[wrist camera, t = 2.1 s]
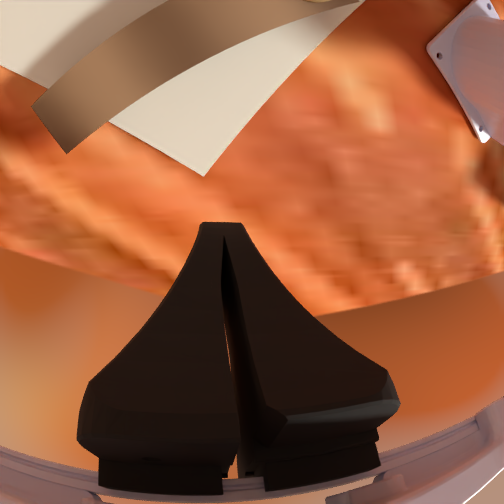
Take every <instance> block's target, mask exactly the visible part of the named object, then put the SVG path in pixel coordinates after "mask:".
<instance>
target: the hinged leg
mask: <svg viewBox="0 0 504 504" xmlns="http://www.w3.org/2000/svg"><path fill="white" fill-rule="evenodd" d="M357 2H360V1H359V0H168V1H166V2H164V3H163V4H161V5H159V6H157V7H156V8H154V9H152V10H151V11H149V12H147V13H146V14H144V15H142V16H141V17H139V18H138V19H136V20H135V21H133V22H131V23H130V24H128V25H127V26H125V27H124V28H123V29H121V30H120V31H118V32H117V33H115V34H114V35H113V36H111V37H110V38H108V39H107V40H106V41H104V42H103V43H102V44H100V45H99V46H98V47H96V48H95V49H94V50H92V51H91V52H90V53H89V54H87V55H86V56H85V57H84V58H83V59H81V60H80V61H79V62H78V63H77V64H75V65H74V66H73V67H72V68H71V69H70V70H68V71H67V72H66V73H65V74H64V75H63V76H62V77H61V78H59V79H58V80H57V81H56V82H55V83H54V84H53V85H52V86H51V87H50V88H49V89H48V90H47V91H46V92H45V93H44V94H43V95H42V96H41V97H40V98H39V99H38V100H37V101H36V102H35V103H34V104H33V105H32V106H31V107H32V109H33V110H34V111H35V113H36V114H37V116H38V117H39V118H40V120H41V121H42V122H43V124H44V125H45V127H46V128H47V129H48V131H49V132H50V133H51V135H52V136H53V137H54V139H55V140H56V141H57V143H58V144H59V145H60V146H61V148H62V149H63V150H64V152H65V153H66V154H67V153H69V152H70V151H71V150H72V149H73V148H75V147H76V146H77V145H78V144H79V143H81V142H82V141H83V140H84V139H85V138H87V137H88V136H89V135H90V134H92V133H93V132H94V131H96V130H97V129H98V128H99V127H101V126H102V125H103V124H105V123H106V122H107V121H109V120H110V119H111V118H113V117H114V116H116V115H117V114H118V113H120V112H121V111H123V110H124V109H125V108H127V107H128V106H130V105H131V104H133V103H134V102H136V101H137V100H139V99H140V98H142V97H143V96H145V95H146V94H148V93H149V92H151V91H153V90H154V89H156V88H157V87H159V86H161V85H162V84H164V83H165V82H167V81H169V80H170V79H172V78H174V77H176V76H177V75H179V74H181V73H183V72H184V71H186V70H188V69H190V68H191V67H193V66H195V65H197V64H199V63H201V62H203V61H204V60H206V59H208V58H210V57H212V56H214V55H216V54H218V53H220V52H222V51H224V50H226V49H228V48H231V47H233V46H235V45H237V44H239V43H241V42H244V41H246V40H248V39H250V38H253V37H255V36H257V35H260V34H262V33H265V32H267V31H270V30H272V29H275V28H277V27H280V26H282V25H285V24H288V23H291V22H293V21H296V20H299V19H302V18H305V17H308V16H311V15H314V14H317V13H320V12H324V11H327V10H330V9H334V8H337V7H341V6H345V5H349V4H353V3H357Z"/></svg>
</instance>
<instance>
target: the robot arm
mask: <svg viewBox="0 0 504 504" xmlns="http://www.w3.org/2000/svg"><path fill="white" fill-rule="evenodd" d="M487 6H488V8H487ZM427 52H428V54H429V55H430V57H431V58H432V60H433V61H434V63H435V64H436V66H437V67H438V69H439V70H440V72H441V73H442V75H443V76H444V78H445V79H446V81H447V83H448V84H449V86H450V87H451V89H452V91H453V92H454V94H455V96H456V98H457V99H458V101H459V103H460V105H461V106H462V108H463V110H464V112H465V114H466V116H467V117H468V119H469V121H470V123H471V125H472V127H473V129H474V131H475V133H476V135H477V137H478V139H479V141H480V142H482V143H485V142H487V141H488V140H489V138H490V137H491V138H493V139H494V140H496V141H497V142H499V143H500V144H502V145H503V146H504V20H500V18H499V16H498V14H497V12H496V11H495V9H494V7H493V5H492V4H491V2H490V0H473V1H472V2H471V3H470V4H469V5H468V6H467V7H465V8H464V9H463V10H462V11H461V12H460V13H459V14H458V15H457V16H456V17H455V18H454V19H453V20H452V21H451V22H450V23H449V24H448V25H447V26H446V27H445V28H444V29H443V30H442V31H441V32H439V33H438V34H437V35H436V36H435V37H434V38H433V39H432V40H431V41H430V42H429V43H428V45H427ZM437 53H439V57H438V58H437ZM479 127H480V128H479ZM224 324H225V326H224ZM225 330H226V335H225ZM226 337H227V342H228V348H229V356H230V364H229V357H228V350H227V342H226ZM230 366H231V371H230ZM399 406H400V401H399V398H398V395H397V392H396V389H395V386H394V384H393V381H392V380H391V377H390V375H389V373H388V371H387V370H386V369H385V368H383V367H381V366H380V365H378V364H377V363H375V362H373V361H372V360H370V359H368V358H367V357H365V356H364V355H362V354H361V353H359V352H357V351H356V350H354V349H353V348H352V347H350V346H349V345H347V344H346V343H345V342H343V341H342V340H341V339H339V338H338V337H337V336H336V335H334V334H333V333H332V332H331V331H330V330H328V329H327V328H326V327H325V326H324V325H323V324H321V323H320V322H319V321H318V320H317V319H316V318H314V317H313V316H312V315H311V314H310V313H309V312H308V311H307V310H306V309H305V308H304V307H303V306H302V305H301V304H300V303H299V302H298V301H297V300H296V299H295V298H294V297H293V295H292V294H291V293H290V292H289V291H288V290H287V289H286V287H285V286H284V285H283V284H282V283H281V281H280V280H279V279H278V278H277V276H276V275H275V274H274V273H273V271H272V270H271V269H270V267H269V266H268V264H267V263H266V262H265V260H264V259H263V257H262V256H261V254H260V253H259V251H258V250H257V248H256V247H255V245H254V243H253V242H252V240H251V238H250V237H249V235H248V233H247V231H246V229H245V228H244V226H243V225H242V224H241V223H232V222H203V223H201V224H200V227H199V231H198V235H197V238H196V240H195V243H194V245H193V248H192V250H191V252H190V254H189V256H188V258H187V260H186V262H185V264H184V266H183V268H182V270H181V271H180V273H179V275H178V277H177V278H176V280H175V282H174V284H173V285H172V287H171V288H170V290H169V292H168V293H167V295H166V296H165V298H164V299H163V300H162V302H161V303H160V305H159V306H158V308H157V309H156V310H155V312H154V313H153V314H152V316H151V317H150V318H149V319H148V321H147V322H146V323H145V324H144V326H143V327H142V328H141V329H140V331H139V332H138V333H137V334H136V335H135V336H134V337H133V338H132V339H131V341H130V342H129V343H128V344H127V345H126V346H125V347H124V348H123V349H122V350H121V352H120V353H119V354H118V355H117V356H116V357H115V358H114V359H113V360H112V361H111V362H110V363H109V364H107V365H106V366H105V367H104V368H103V369H102V370H101V371H100V372H99V373H98V374H97V375H96V376H95V377H94V378H93V379H92V380H90V381H89V383H88V385H87V388H86V391H85V394H84V397H83V400H82V404H81V407H80V411H79V419H78V428H77V441H78V442H79V444H80V445H81V446H83V447H84V448H85V449H87V450H88V451H90V452H91V453H92V454H94V455H95V456H97V457H98V458H99V470H98V472H96V471H91V470H86V469H81V468H76V467H71V466H67V465H63V464H58V463H54V462H50V461H47V460H43V459H39V458H36V457H33V456H29V455H26V454H23V453H19V452H17V451H14V450H10V449H8V448H5V447H2V446H0V504H111V503H106V502H103V501H102V500H101V498H100V497H99V496H98V495H97V494H100V495H107V496H112V497H119V498H127V499H135V500H144V501H145V500H146V501H156V502H157V501H158V502H175V503H224V502H242V501H253V500H263V499H272V498H279V497H286V496H292V495H298V494H304V493H309V492H314V491H319V490H324V489H328V488H333V487H337V486H341V485H345V484H348V483H352V482H356V481H359V480H363V479H366V478H370V477H373V476H376V475H377V476H376V477H375V478H374V481H373V483H372V484H369V485H366V486H363V487H359V488H356V489H353V490H349V491H347V492H343V493H340V494H336V495H333V496H329V497H326V499H325V501H326V504H464V503H466V502H467V501H468V500H469V499H470V498H472V497H473V496H474V495H475V494H476V493H478V492H479V491H480V490H481V489H482V488H483V487H485V486H486V485H487V484H488V483H489V482H490V481H491V480H492V479H493V478H494V477H495V476H496V475H497V474H498V473H500V472H501V471H502V470H503V469H504V396H503V397H501V398H500V399H498V400H496V401H494V402H492V403H491V404H489V405H488V406H486V407H485V408H483V409H482V410H480V411H479V412H478V413H476V415H474V416H473V417H470V418H468V419H466V420H464V421H462V422H460V423H458V424H456V425H454V426H452V427H449V428H447V429H444V430H442V431H440V432H437V433H435V434H433V435H430V436H428V437H425V438H422V439H420V440H417V441H415V442H412V443H409V444H406V445H403V446H400V447H397V448H394V449H391V450H388V451H385V452H382V453H378V451H377V448H376V444H375V442H376V441H378V440H379V435H378V432H377V427H378V426H380V425H381V424H382V423H384V422H385V421H386V420H388V419H389V418H390V417H391V416H393V415H394V414H395V413H396V412H397V410H398V408H399ZM236 454H237V468H238V479H222V478H228V470H229V467H230V465H233V462H234V459H235V456H236ZM94 493H95V494H94Z"/></svg>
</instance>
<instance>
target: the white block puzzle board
mask: <svg viewBox="0 0 504 504" xmlns="http://www.w3.org/2000/svg"><path fill="white" fill-rule="evenodd" d="M166 1H168V0H0V65H1V66H3V67H5V68H7V69H9V70H11V71H13V72H15V73H17V74H19V75H21V76H23V77H25V78H27V79H29V80H31V81H33V82H35V83H37V84H39V85H41V86H43V87H45V88H47V89H49V88H50V87H51V86H52V85H53V84H54V83H55V82H56V81H57V80H58V79H59V78H61V77H62V76H63V75H64V74H65V73H66V72H67V71H68V70H70V69H71V68H72V67H73V66H74V65H75V64H77V63H78V62H79V61H80V60H81V59H83V58H84V57H85V56H86V55H87V54H89V53H90V52H91V51H92V50H94V49H95V48H96V47H98V46H99V45H100V44H102V43H103V42H104V41H106V40H107V39H108V38H110V37H111V36H113V35H114V34H115V33H117V32H118V31H120V30H121V29H123V28H124V27H125V26H127V25H128V24H130V23H131V22H133V21H135V20H136V19H138V18H139V17H141V16H142V15H144V14H146V13H147V12H149V11H151V10H152V9H154V8H156V7H157V6H159V5H161V4H163V3H164V2H166ZM359 1H360V2H357V3H353V4H349V5H345V6H341V7H337V8H334V9H330V10H327V11H324V12H320V13H317V14H314V15H311V16H308V17H305V18H302V19H299V20H296V21H293V22H291V23H288V24H285V25H282V26H280V27H277V28H275V29H272V30H270V31H267V32H265V33H262V34H260V35H257V36H255V37H253V38H250V39H248V40H246V41H244V42H241V43H239V44H237V45H235V46H233V47H231V48H228V49H226V50H224V51H222V52H220V53H218V54H216V55H214V56H212V57H210V58H208V59H206V60H204V61H203V62H201V63H199V64H197V65H195V66H193V67H191V68H190V69H188V70H186V71H184V72H183V73H181V74H179V75H177V76H176V77H174V78H172V79H170V80H169V81H167V82H165V83H164V84H162V85H161V86H159V87H157V88H156V89H154V90H153V91H151V92H149V93H148V94H146V95H145V96H143V97H142V98H140V99H139V100H137V101H136V102H134V103H133V104H131V105H130V106H128V107H127V108H125V109H124V110H123V111H121V112H120V113H118V114H117V115H116V116H114V117H113V118H111V119H110V120H109V122H110V123H112V124H114V125H116V126H118V127H119V128H121V129H123V130H125V131H126V132H128V133H130V134H132V135H134V136H135V137H137V138H139V139H141V140H142V141H144V142H146V143H148V144H149V145H151V146H153V147H154V148H156V149H158V150H160V151H161V152H163V153H165V154H167V155H168V156H170V157H172V158H173V159H175V160H177V161H178V162H180V163H182V164H183V165H185V166H187V167H189V168H190V169H192V170H194V171H195V172H197V173H199V174H200V175H202V176H204V175H205V174H206V173H207V172H208V170H209V169H210V168H211V166H212V165H213V164H214V163H215V161H216V160H217V159H218V158H219V156H220V155H221V154H222V153H223V151H224V150H225V149H226V148H227V147H228V145H229V144H230V143H231V142H232V140H233V139H234V138H235V137H236V136H237V134H238V133H239V132H240V131H241V130H242V128H243V127H244V126H245V125H246V124H247V122H248V121H249V120H250V119H251V118H252V117H253V115H254V114H255V113H256V112H257V111H258V110H259V109H260V107H261V106H262V105H263V104H264V103H265V102H266V101H267V99H268V98H269V97H270V96H271V95H272V94H273V93H274V92H275V91H276V89H277V88H278V87H279V86H280V85H281V84H282V83H283V82H284V81H285V80H286V78H287V77H288V76H289V75H290V74H291V73H292V72H293V71H294V70H295V69H296V68H297V67H298V66H299V65H300V64H301V63H302V61H303V60H304V59H305V58H306V57H307V56H308V55H309V54H310V53H311V52H312V51H313V50H314V49H315V48H316V47H317V46H318V45H319V44H320V43H321V42H322V41H323V40H324V39H325V38H326V37H327V36H328V35H329V34H330V33H331V32H332V31H333V30H334V29H335V28H336V27H337V26H338V25H339V24H341V23H342V22H343V21H344V20H345V19H346V18H347V17H348V16H349V15H350V14H351V13H352V12H353V11H354V10H355V9H357V8H358V7H359V6H360V5H361V4H362V3H363V2H364V1H365V0H359Z"/></svg>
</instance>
